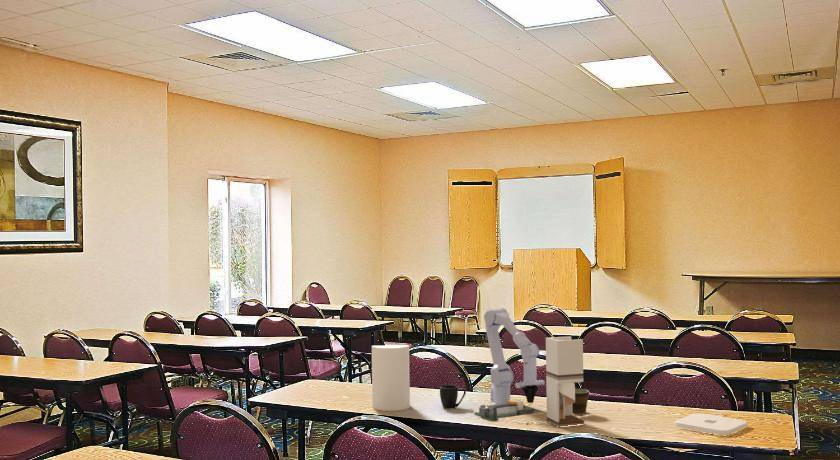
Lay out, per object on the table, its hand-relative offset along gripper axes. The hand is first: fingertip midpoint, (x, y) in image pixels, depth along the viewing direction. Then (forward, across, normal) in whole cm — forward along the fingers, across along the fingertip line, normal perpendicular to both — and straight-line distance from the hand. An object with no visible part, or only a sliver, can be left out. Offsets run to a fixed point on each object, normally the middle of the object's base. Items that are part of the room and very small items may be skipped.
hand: (530, 402), depth 331 cm
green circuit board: (+4, -12, 0) cm, 12 cm away
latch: (+3, -8, 0) cm, 9 cm away
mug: (+4, -26, +23) cm, 35 cm away
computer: (+4, +45, -60) cm, 75 cm away
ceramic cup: (+4, +12, -15) cm, 20 cm away
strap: (+1, -16, 0) cm, 16 cm away
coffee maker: (+4, -2, -26) cm, 26 cm away
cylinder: (+4, -50, +40) cm, 64 cm away
